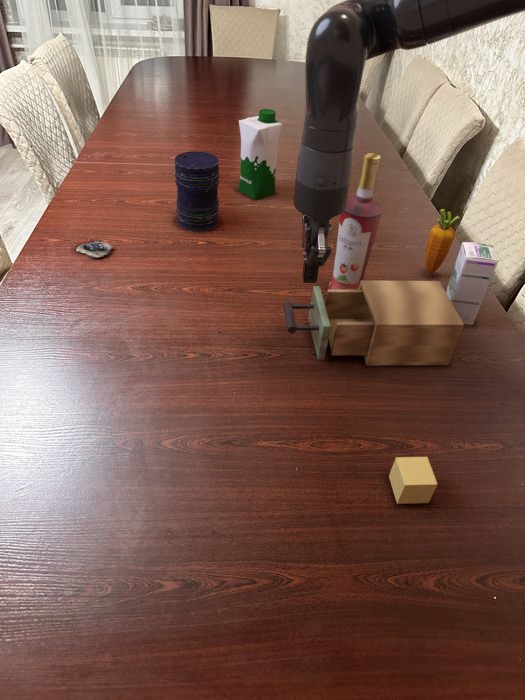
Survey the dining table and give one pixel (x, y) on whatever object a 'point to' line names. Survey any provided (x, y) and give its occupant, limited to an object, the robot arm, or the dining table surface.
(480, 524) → the dining table surface
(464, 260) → the syrup box
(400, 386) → the dining table surface
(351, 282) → the liquor
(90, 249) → the oyster shell
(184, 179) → the storage jar
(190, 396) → the dining table surface
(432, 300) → the cabinet
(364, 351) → the drawer
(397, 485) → the block
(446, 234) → the carrot
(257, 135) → the milk carton
